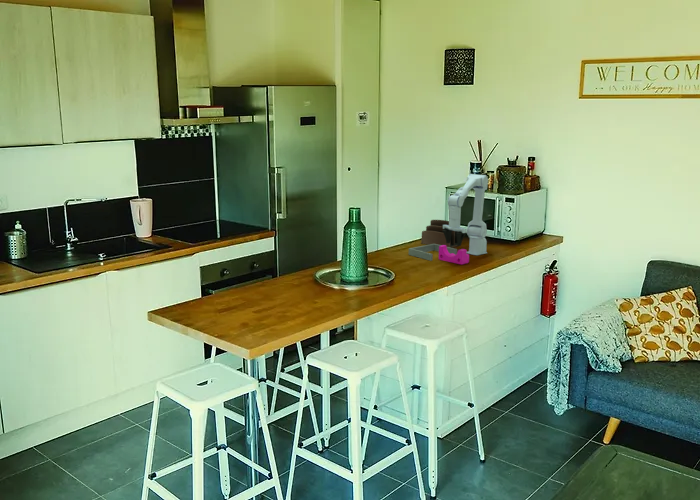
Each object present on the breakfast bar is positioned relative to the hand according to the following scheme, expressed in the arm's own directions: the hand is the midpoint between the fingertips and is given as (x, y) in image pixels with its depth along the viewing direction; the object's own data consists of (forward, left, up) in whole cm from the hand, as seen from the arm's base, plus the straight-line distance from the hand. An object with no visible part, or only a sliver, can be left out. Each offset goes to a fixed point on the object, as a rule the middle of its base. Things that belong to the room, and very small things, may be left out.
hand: (453, 244), depth 353 cm
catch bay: (-4, -18, -10) cm, 21 cm away
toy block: (-3, -2, -10) cm, 11 cm away
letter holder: (-26, -33, -10) cm, 44 cm away
